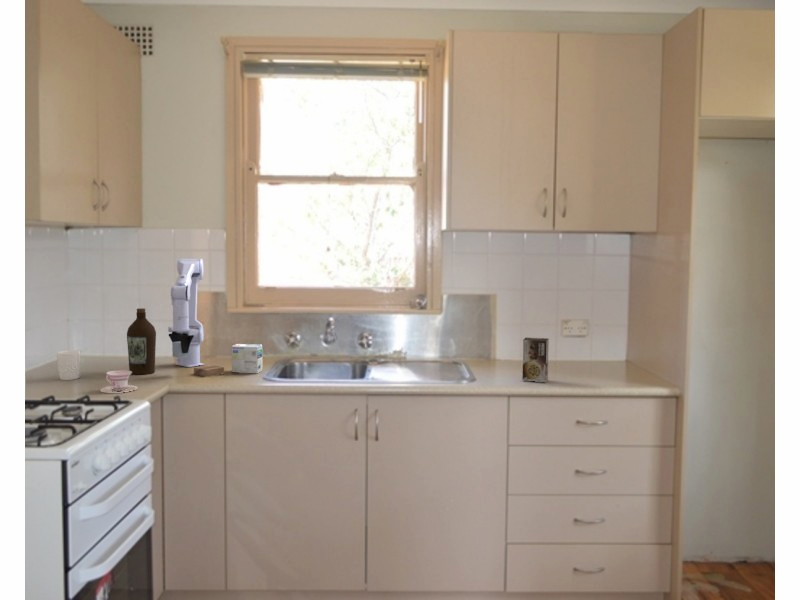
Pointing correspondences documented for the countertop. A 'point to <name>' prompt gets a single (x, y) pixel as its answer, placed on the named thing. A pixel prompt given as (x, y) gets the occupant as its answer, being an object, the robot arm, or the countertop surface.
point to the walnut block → (208, 370)
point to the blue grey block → (178, 350)
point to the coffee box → (535, 359)
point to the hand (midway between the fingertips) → (181, 352)
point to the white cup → (69, 364)
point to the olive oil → (141, 345)
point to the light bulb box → (247, 358)
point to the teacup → (118, 381)
